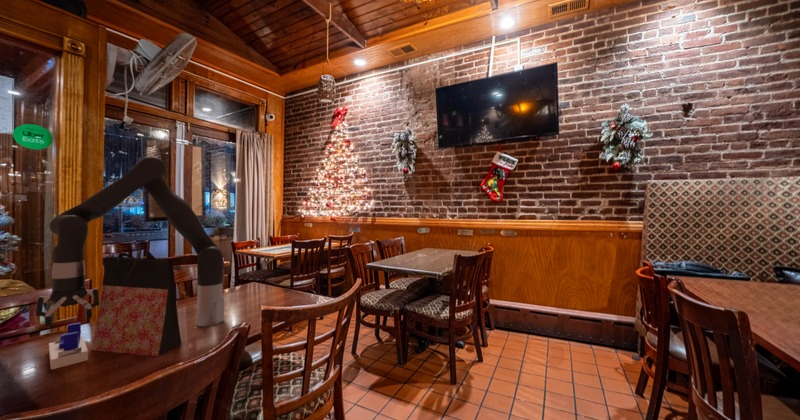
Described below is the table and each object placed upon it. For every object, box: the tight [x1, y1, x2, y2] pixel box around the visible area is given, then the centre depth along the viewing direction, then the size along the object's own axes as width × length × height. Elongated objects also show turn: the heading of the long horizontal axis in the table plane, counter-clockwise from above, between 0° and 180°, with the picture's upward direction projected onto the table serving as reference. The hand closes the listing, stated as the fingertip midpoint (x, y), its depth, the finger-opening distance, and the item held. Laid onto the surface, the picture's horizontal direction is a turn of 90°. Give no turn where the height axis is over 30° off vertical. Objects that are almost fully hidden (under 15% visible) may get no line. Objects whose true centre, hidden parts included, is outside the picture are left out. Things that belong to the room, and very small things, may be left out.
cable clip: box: [59, 321, 82, 351], centre depth 104 cm, size 12×4×6 cm, turn 42°
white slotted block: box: [48, 335, 89, 370], centre depth 103 cm, size 8×17×4 cm, turn 50°
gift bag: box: [90, 251, 182, 357], centre depth 110 cm, size 29×14×35 cm, turn 84°
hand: (69, 323), depth 103 cm, fingers open, 8 cm apart
